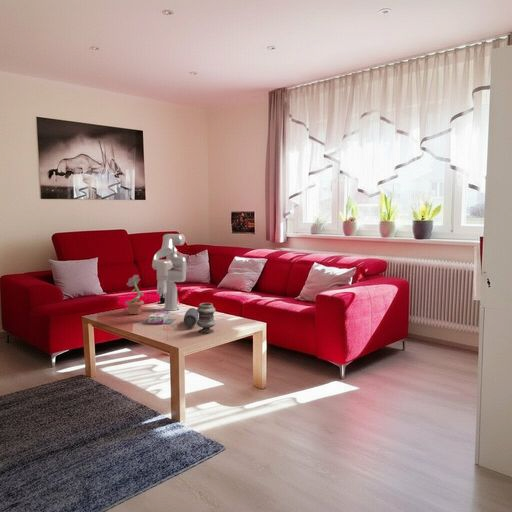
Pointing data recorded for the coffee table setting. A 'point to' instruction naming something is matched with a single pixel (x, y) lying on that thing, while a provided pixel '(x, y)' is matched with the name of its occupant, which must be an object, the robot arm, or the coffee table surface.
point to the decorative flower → (135, 304)
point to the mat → (163, 323)
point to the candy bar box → (158, 317)
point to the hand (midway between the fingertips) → (162, 303)
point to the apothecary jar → (206, 317)
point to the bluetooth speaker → (191, 317)
